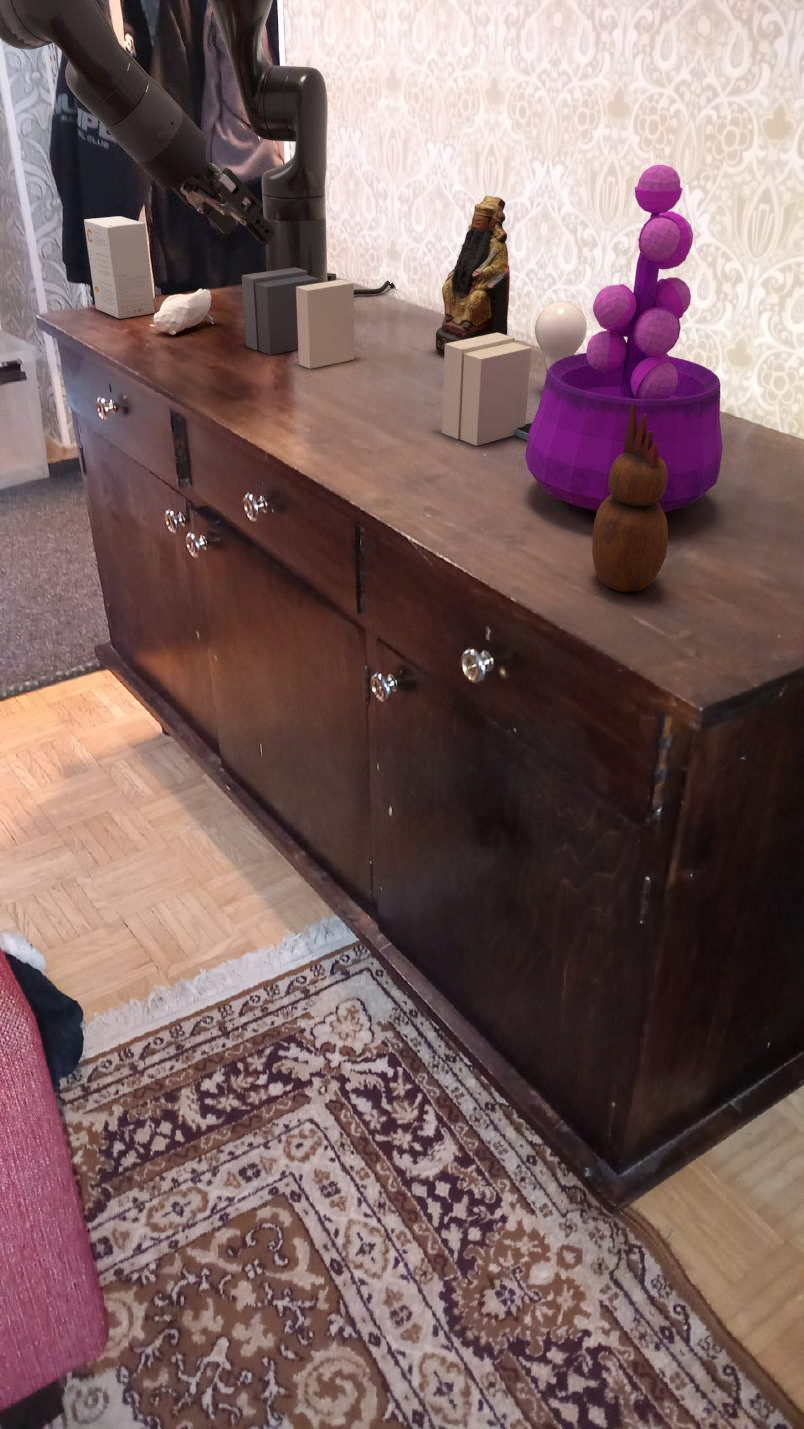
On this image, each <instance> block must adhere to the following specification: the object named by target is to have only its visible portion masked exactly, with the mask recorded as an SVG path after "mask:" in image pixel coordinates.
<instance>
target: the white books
mask: <svg viewBox="0 0 804 1429" xmlns="http://www.w3.org/2000/svg"><path fill="white" fill-rule="evenodd" d="M515 340H516V339H515V337H514V336H510V335H508V334H507V335H504V334H501V333H493V334H488V335H484V336H479V337H475V338H470V339H465V340H461V341H456V342H451V343H447V344H445V355H443V357H444V358H443V359H444V360H443V382H442V383H443V384H442V385H443V386H442V387H443V388H442V409H441V410H442V413H441V416H442V417H441V418H442V419H441V434H443V435H446V436H447V437H451V438H452V439H455V440H461V441H463V442H465V443H468V444H470V445H473V446H475V447H478V446H482V445H485V444H489V443H492V442H496V441H499V440H502V439H506V438H510V437H513V436H515V429H516V428H520V427H524V426H525V423H527V422H526V420H527V408H528V397H529V396H528V395H529V383H530V372H531V371H530V370H531V360H532V359H531V358H532V347H531V346H528V345H524V344H521V343H518V342H515Z"/></svg>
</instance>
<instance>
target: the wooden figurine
mask: <svg viewBox="0 0 804 1429" xmlns="http://www.w3.org/2000/svg"><path fill="white" fill-rule="evenodd" d="M667 477H668V476H667V468H666V465H665V463H664V461H663V459H661V458H660V457H658V444H657V443H656V444H653V432H652V431H648V432H647V435H646V414H643V415H642V418H641V421H640V424H639V427H638V430H637V417H636V404H635V403H634V402H633V403H631V408H630V414H629V419H628V425H627V431H626V437H625V443H624V449H623V454H621V455H619V456H618V457H617V458H616V460H615V461H614V463H613V465H612V467H611V470H610V474H609V482H608V486H609V490H610V494H611V495H610V496H608V497H607V498H606V499H605V500H604V501H603V502H602V503H601V505H600V507H599V509H598V511H596V514H595V518H594V523H593V528H592V529H593V530H592V540H591V543H592V546H591V548H592V549H591V553H592V561H593V566H594V570H595V575H596V577H597V578H598V580H599V581H600V582H601V583H602V584H603V585H604V586H606V587H607V588H609V589H611V590H614V591H617V592H622V593H635V592H639V591H642V590H644V589H646V588H647V587H649V586H650V585H651V584H652V583H653V582H654V580H655V579H656V577H657V576H658V574H659V572H660V570H661V569H662V567H663V565H664V562H665V559H666V557H667V552H668V546H669V543H668V542H669V528H668V520H667V515H666V512H664V511H663V509H662V507H661V506H660V504H659V503H658V501H659V500H660V499H661V498H662V496H663V494H664V492H665V490H666V485H667Z"/></svg>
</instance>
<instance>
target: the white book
mask: <svg viewBox="0 0 804 1429" xmlns="http://www.w3.org/2000/svg"><path fill="white" fill-rule="evenodd" d="M354 288H355V283H354V282H353V281H348V280H345V279H342V278H341V279H336V280H335V281H329V282H323V283H316V284H310V285H304V286H298V287H296V299H297V325H298V350H297V351H298V365H300V366H302V367H305V368H307V369H309V370H311V369H317V368H320V367H325V366H326V367H327V366H330V365H335V364H340V363H345V362H349V361H354V360H355V295H354V290H355V289H354Z"/></svg>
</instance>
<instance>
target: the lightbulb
mask: <svg viewBox="0 0 804 1429" xmlns="http://www.w3.org/2000/svg"><path fill="white" fill-rule="evenodd" d="M587 331H588V321H587V318H586V316H585V313H584V312H583V311H582V309H581V308H580V307H579V306H578V305H576V304H574V303H573V302H570V301H565V300H559V301H554V302H552V303H549V304H548V305H546V306H545V307H544V308H543V309H542V310H541V311H540V313H538V316H537V318H536V321H535V325H534V336H535V339H536V342H537V344H538V346H539V348H540V350H541V353H542V355H543V361H544V362H543V363H544V366H545V377H546V376H547V372H548V370H549V368H550V367H551V365H552V364H553V363H555V362H556V361H558V360H560V359H562V358H565V357H568V356H572V355H576V353H577V352H578V350H579V349H580V347H581V346H582V345H583V343H584V341H585V339H586V338H587Z"/></svg>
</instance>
